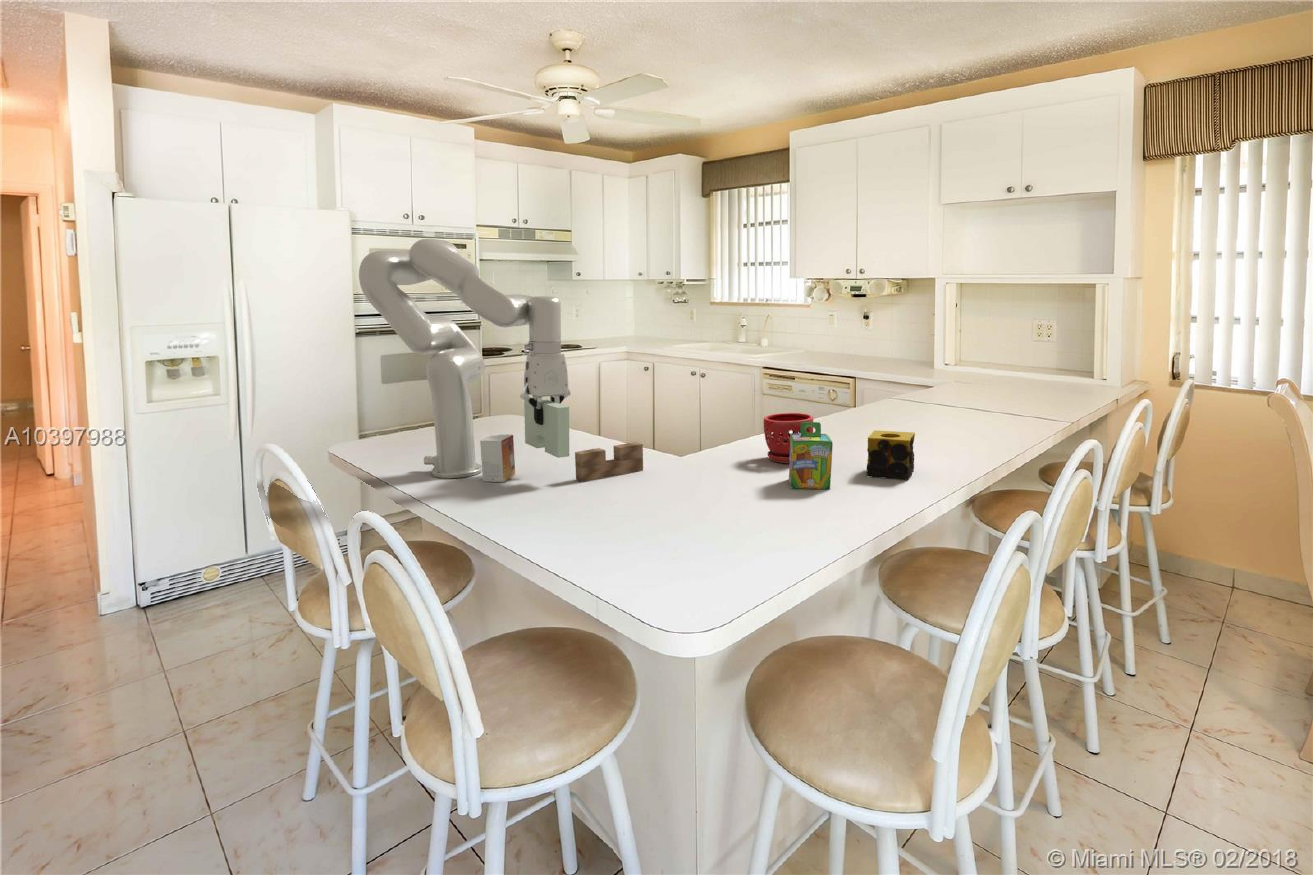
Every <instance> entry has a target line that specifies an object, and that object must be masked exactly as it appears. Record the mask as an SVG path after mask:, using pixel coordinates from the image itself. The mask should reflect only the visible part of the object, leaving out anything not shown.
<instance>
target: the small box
mask: <svg viewBox="0 0 1313 875" xmlns="http://www.w3.org/2000/svg"><path fill="white" fill-rule="evenodd" d="M479 443H480V456H481V458H480V459H481V461H480V462H481V466H482V471H481V473H482V482H485V483H487V482H488V483H504V482H506V481H507V480H508V479H510V478H512V477H514V476H516V466H515V463H516V462H515V444H514V443H515V442H514V435H513V434H505V433H504V434H503V433H501V434H500V433H493V434H491V435H489V436H487V437H486V438H484V439H483V438H482V439H481V440H479Z"/></svg>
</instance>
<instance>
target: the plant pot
mask: <svg viewBox="0 0 1313 875" xmlns="http://www.w3.org/2000/svg"><path fill="white" fill-rule="evenodd" d="M802 422H814V417H813V416H812V415H811V414H807V413H800V412H798V413H797V412H786V413H785V412H784V413H783V412H782V413H773V414H769V415H766V416H764V417H763V434H764V439H765V443H766V446H767V447H768V449H769V451H768V452H767V457H768V458H769V460H771V461H772V462H776V463H781V464H783V465H785V464H790V434H791V433H790V431H791V432H792V433H801V423H802ZM806 431H807V432H808V433H814V427H808V428H806Z"/></svg>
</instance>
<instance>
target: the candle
mask: <svg viewBox="0 0 1313 875" xmlns="http://www.w3.org/2000/svg"><path fill="white" fill-rule="evenodd" d="M915 435H916V432H913V431H911V432H910V431H909V432H908V431H893V430H873V431H872V433H871V434H870V435H868V437H867V464H866V477H868V476H872V477H871V478H879V477H880V478H881V479H889V480H892V479H893V480H899V479H900V480H902V481H908V480H910V478H911V477H912V475H913V472H914V471H915V452H914V442H915Z"/></svg>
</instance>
